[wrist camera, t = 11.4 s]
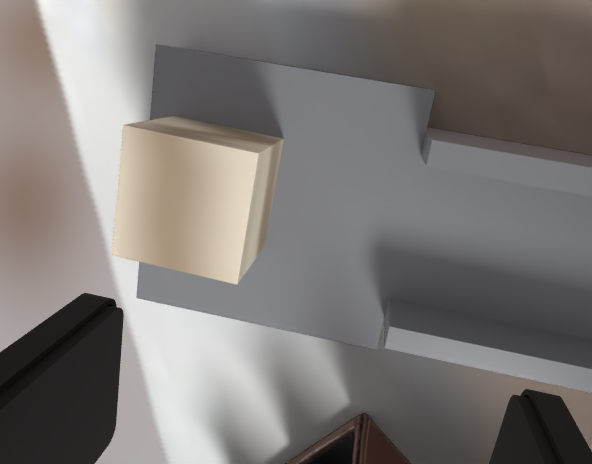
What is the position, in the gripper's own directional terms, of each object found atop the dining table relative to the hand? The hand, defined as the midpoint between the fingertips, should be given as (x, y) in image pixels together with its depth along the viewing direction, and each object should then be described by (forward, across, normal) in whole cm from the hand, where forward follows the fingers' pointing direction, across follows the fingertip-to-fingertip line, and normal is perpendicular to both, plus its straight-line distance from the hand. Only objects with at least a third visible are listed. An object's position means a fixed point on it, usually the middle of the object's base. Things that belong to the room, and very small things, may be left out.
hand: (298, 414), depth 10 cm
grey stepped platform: (+18, -8, 0) cm, 19 cm away
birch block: (+15, +6, -1) cm, 16 cm away
